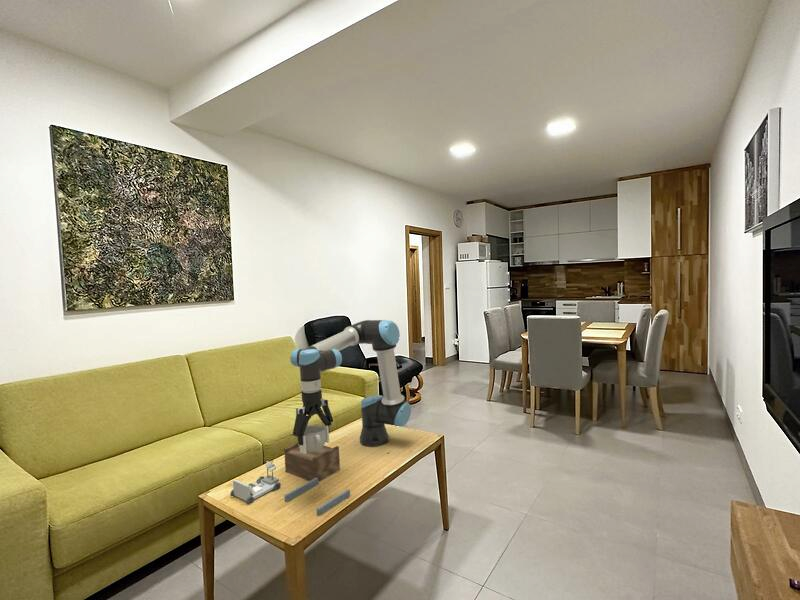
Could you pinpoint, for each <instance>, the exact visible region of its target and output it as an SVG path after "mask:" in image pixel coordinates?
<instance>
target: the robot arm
mask: <svg viewBox="0 0 800 600" xmlns="http://www.w3.org/2000/svg"><path fill="white" fill-rule="evenodd" d="M400 334H401V333H400V329H399V327H398V325H397V324H396V322H394V321H392V320H389V319H388V320H387V319H376V320H375V319H374V320H371V319H367V320H362V321H359V322H356V323H353V324H351V325H349V326H346V327H345V328H344V329H343V331H341V332H338V333H337V334H334V335H332V336H330V337H327V338H326V339H323V340H321V341H318V342H316V343H315V344H312V345H310V346H307V347H305V348H296V349H294V350H292V352H291V353H290V356H289V357H290V358H289V359H290V363H291V365H292V366H293V367H296V368H299V372H300V375H299V376H300V377H299V378H300V391H301V392H300V393H301V401H302V407H297V408H296V409H295V411H296V412H295V413H296V414H295V415H296V416H295V420H294V425H293V430H292V436H294V437H297V443H298V444H299V445H300V452H301V453H304V454H306V437H305V436H304V433H305V430H306V427H307V426H308V424H309V421H310V419H312V417H313V416H314V415H317V416H318V418H319V419H320V420H321V422H322V426H324V427H326V440H325V443H327V444H328V443H330V431H331V429H330V426H332V423H333V422H334V419H333V415H332V412H331V410H330V407H329V400H328V399H324V398H323V395H322V394H323V393H322V391H323V390H321V389H322V379H321V378H322V376H321V372H326V371H329V370H332V369H336V368H338V367H339V366H341V365H342V362H343V356H342V353H341V352H340V351H342V350H344V349H346V348H348V347H350V346H351V347H353V346H356V345H359V344H360V345H361V344H362V345H364V344H365V345H367V344H368V345H369V344H370V345H371V348H372V351H374V352H375V353H376V358H377V364H378V370H379V371H378V372H379V377H380V382H381V389H382V394H383V395H381V394H380V395H379V394H377V395H371V396H367V397H364V398H363V399H361V403H360V404H361V405H360V408H361V422H362V423H361V424H362V428H361V431H360V436H359V443H360V445H361V446H364V447H379V446H383V445H386V444H387V443H388V442H389V440H390V437H389V436H390V435H389V433H388V432H387V428H386V425H388V426H389V425H390V426H395V427H403V426H405V425H407V423H408V422H409V421H410V420H409V419H410V417H411V413H412V407H411V405H410V403H409V402H407V401H406V399H405V396H404V395H403V394H402V393H401V387H400V386H401V385H400V380H399V375H398V368H397V362H396V361H397V360H396V355H395V349H396V347H397V344H398V343H399V341H400V336H401V335H400Z"/></svg>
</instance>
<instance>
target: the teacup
mask: <svg viewBox="0 0 800 600" xmlns="http://www.w3.org/2000/svg"><path fill="white" fill-rule="evenodd" d="M322 425H323V424H322ZM322 425H321V424H310V425H308V424H307V427H306V430H305V433H304V436H305V437H306V452H314V451H318V450H320V449H321V448H322V447H323V446H325V444H326V442H325V440H326V427H324V426H322ZM298 445H299V444H298ZM299 447H300V445H299Z"/></svg>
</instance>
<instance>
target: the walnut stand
mask: <svg viewBox="0 0 800 600" xmlns="http://www.w3.org/2000/svg"><path fill="white" fill-rule="evenodd" d="M283 452H284V453H283V454H284V465H285V467H284V468H285V469H284V470H285V472H286V473H288V474H291V475H293V476H296V477H298V478H301V479H304V480H306V481H308V482H309V481H311V480H313V479H315V478H318V482H321V481H323V480H324V479H327V478H328V477H330V476H331V475H333V474H335V473H337V472H339V471H341V463H340V462H341V461H340V446H338V445H336V446H334V447H330V446H327V445H324V446H323V447H322V448H321V449H320V450H318V451H314V452H306V454H304V453H301V452H300V447H299V445H298V442H297V443H294V444H292V445H291V444H290V445H289V446H287V447H284V451H283Z"/></svg>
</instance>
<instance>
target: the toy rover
mask: <svg viewBox="0 0 800 600" xmlns="http://www.w3.org/2000/svg"><path fill="white" fill-rule="evenodd" d="M273 462H274V459H272V460H271V461H268V460H266V465H265V467H266V475H267V476H263V475H261V476H259V477H258V479H257V478H256V481H255V482H253V483H252V482H251V483H249V484H247V483H244V482H242V481H240V480H237V479H235V478H234V479H233V480H232V490H231V491H230V497H231V496H234V497H236V498H239V499H241V500H243V501H245V503H246V505H247V504H249V505H251V504H253V503H254V502H255V499H258V498H259V497H261V496H263V495H265V494H267V493H269V492H271V491H273V490H274V491H278V490H279V489H281V487H282V485H281V483H280V479H279V478H278V477H276V476H274V471H275V470H276V469H277V468H276V467H275V466H276V464H274V463H273ZM270 472H271V475H269V473H270ZM250 503H251V504H250Z"/></svg>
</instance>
